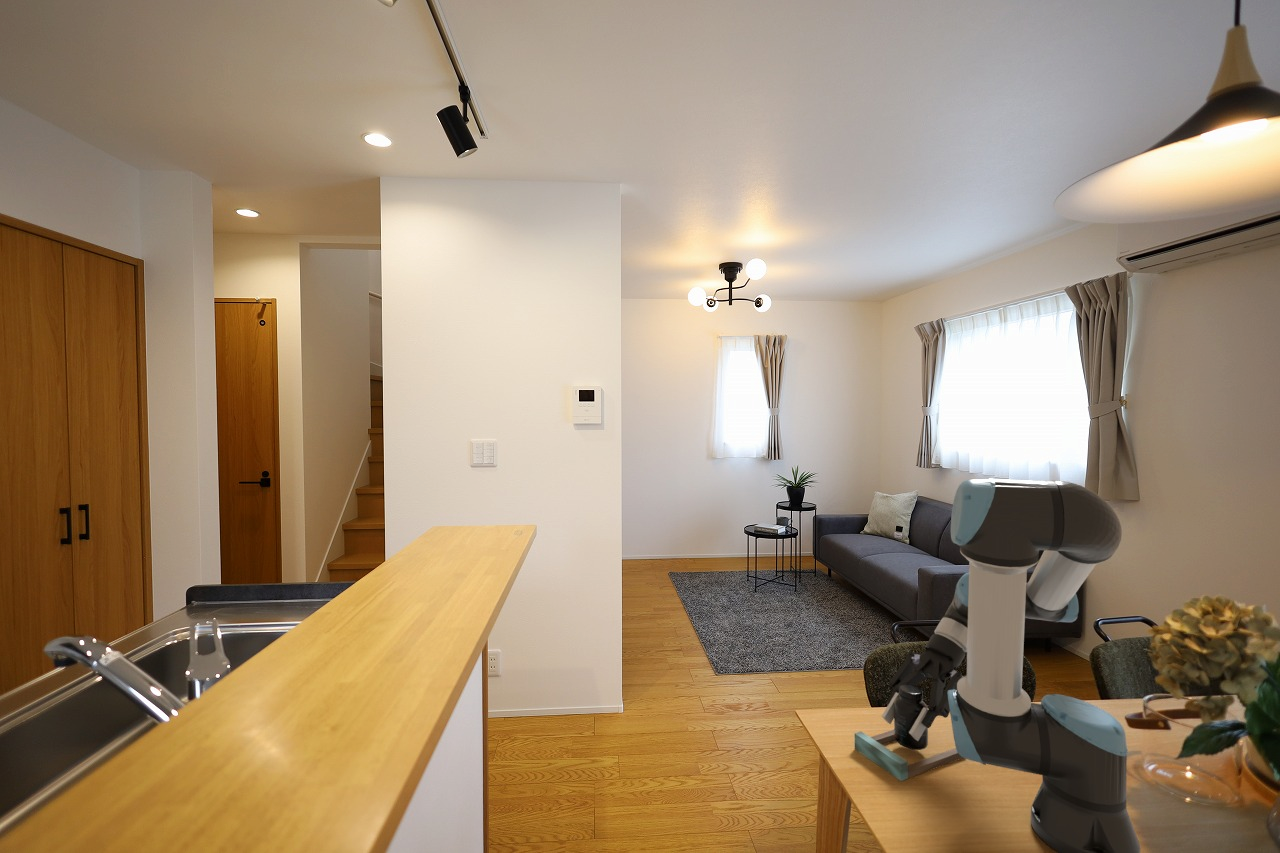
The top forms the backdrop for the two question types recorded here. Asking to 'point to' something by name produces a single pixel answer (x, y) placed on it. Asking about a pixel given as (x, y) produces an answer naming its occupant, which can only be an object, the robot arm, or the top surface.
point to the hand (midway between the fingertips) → (899, 728)
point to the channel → (895, 763)
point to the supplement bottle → (909, 717)
